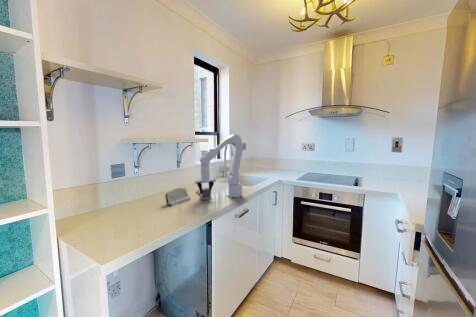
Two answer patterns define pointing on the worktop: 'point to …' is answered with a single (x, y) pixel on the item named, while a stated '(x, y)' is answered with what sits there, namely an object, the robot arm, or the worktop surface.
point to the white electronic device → (176, 196)
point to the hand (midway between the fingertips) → (205, 193)
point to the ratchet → (203, 197)
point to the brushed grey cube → (206, 192)
